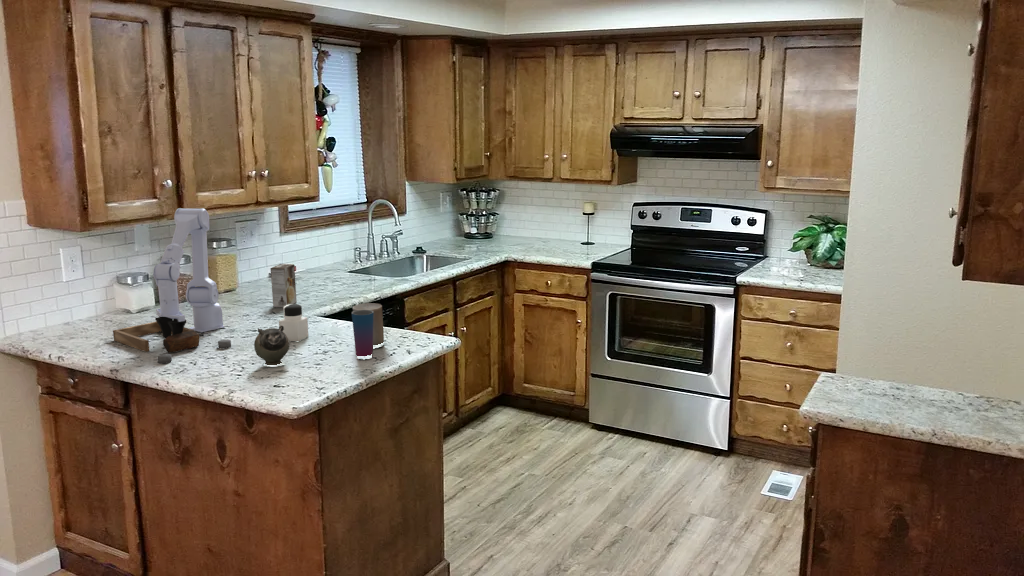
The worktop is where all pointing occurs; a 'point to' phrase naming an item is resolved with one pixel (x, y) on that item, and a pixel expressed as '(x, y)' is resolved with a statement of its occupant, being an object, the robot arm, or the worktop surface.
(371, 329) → the cup
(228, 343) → the puck right
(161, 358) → the puck left
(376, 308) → the pillar candle
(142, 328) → the wooden frame
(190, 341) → the brick
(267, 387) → the worktop surface
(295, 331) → the medicine bottle
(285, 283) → the coffee box
